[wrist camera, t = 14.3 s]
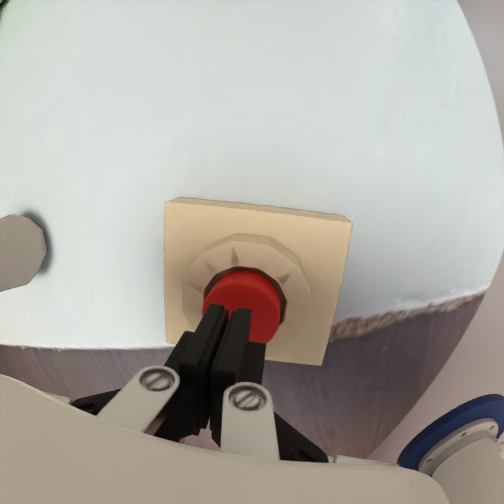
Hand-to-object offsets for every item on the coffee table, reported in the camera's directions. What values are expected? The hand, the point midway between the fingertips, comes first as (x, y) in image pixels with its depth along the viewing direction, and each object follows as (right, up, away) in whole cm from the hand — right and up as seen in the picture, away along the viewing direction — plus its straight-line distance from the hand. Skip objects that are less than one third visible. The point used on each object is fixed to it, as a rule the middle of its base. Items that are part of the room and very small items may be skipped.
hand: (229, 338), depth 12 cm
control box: (+1, +2, +7) cm, 7 cm away
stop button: (+1, +1, +3) cm, 4 cm away
